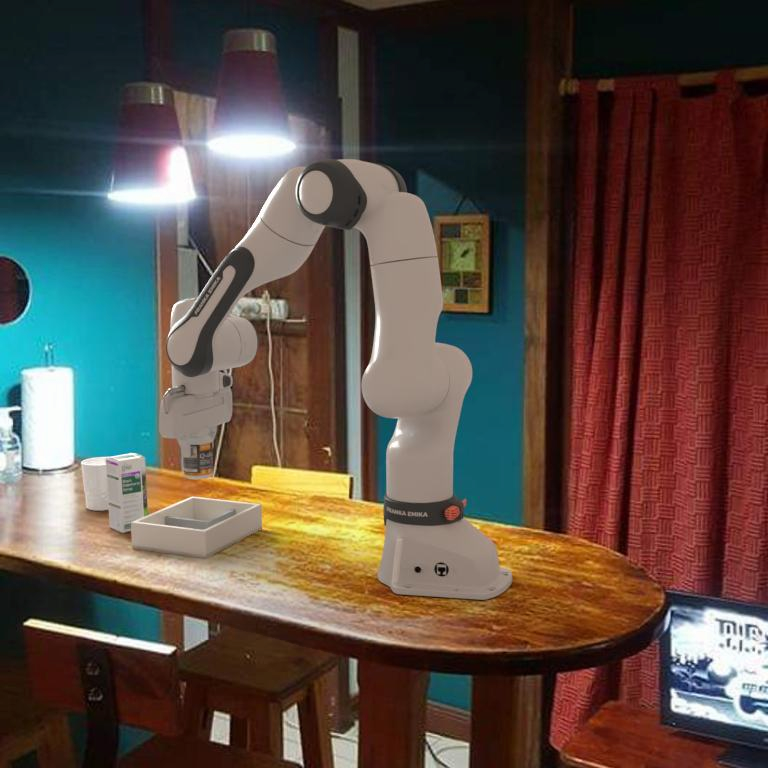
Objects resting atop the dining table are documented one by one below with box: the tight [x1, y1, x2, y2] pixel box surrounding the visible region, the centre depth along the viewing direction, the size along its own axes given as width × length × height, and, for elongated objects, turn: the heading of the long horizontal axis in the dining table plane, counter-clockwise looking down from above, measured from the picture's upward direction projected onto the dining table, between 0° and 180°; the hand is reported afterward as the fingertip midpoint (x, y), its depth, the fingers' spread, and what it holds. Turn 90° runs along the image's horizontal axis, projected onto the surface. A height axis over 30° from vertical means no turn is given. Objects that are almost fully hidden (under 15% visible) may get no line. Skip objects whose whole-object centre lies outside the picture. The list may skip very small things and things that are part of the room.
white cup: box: [80, 456, 109, 512], centre depth 220 cm, size 8×8×10 cm
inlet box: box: [130, 496, 263, 559], centre depth 197 cm, size 16×20×5 cm
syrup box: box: [105, 452, 149, 534], centre depth 203 cm, size 6×6×14 cm
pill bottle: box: [182, 426, 214, 480], centre depth 200 cm, size 6×6×10 cm
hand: (197, 452), depth 200 cm, fingers closed on pill bottle, 6 cm apart
